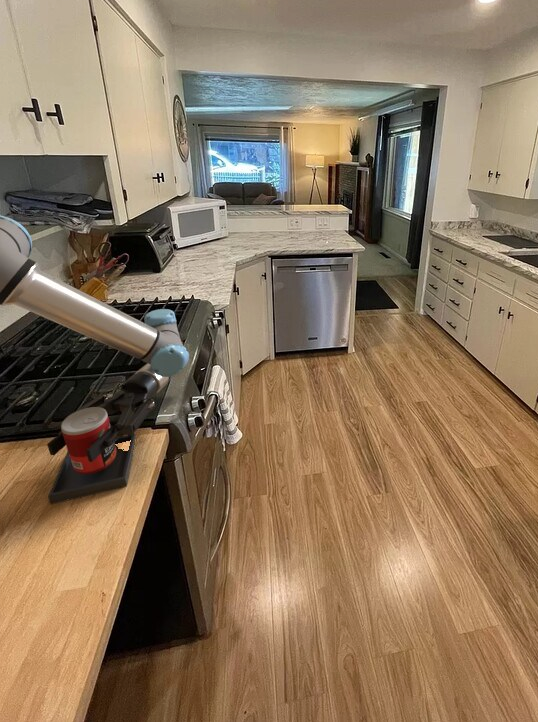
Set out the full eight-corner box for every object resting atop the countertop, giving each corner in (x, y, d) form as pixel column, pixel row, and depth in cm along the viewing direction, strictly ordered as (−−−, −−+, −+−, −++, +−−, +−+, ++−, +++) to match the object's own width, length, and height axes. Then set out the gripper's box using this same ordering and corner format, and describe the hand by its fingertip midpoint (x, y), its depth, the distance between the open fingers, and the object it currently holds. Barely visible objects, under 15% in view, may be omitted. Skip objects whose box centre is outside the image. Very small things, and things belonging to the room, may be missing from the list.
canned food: (114, 468, 74) (103, 426, 70) (69, 480, 71) (55, 437, 67) (119, 443, 80) (109, 402, 77) (78, 453, 78) (66, 411, 74)
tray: (50, 504, 69) (47, 496, 68) (71, 453, 80) (69, 446, 80) (126, 486, 73) (125, 478, 72) (136, 440, 84) (135, 433, 84)
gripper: (184, 401, 90) (120, 476, 69) (111, 392, 93) (29, 460, 72) (180, 376, 87) (113, 445, 66) (105, 367, 90) (18, 430, 69)
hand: (69, 453), depth 69 cm, fingers closed on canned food, 8 cm apart
